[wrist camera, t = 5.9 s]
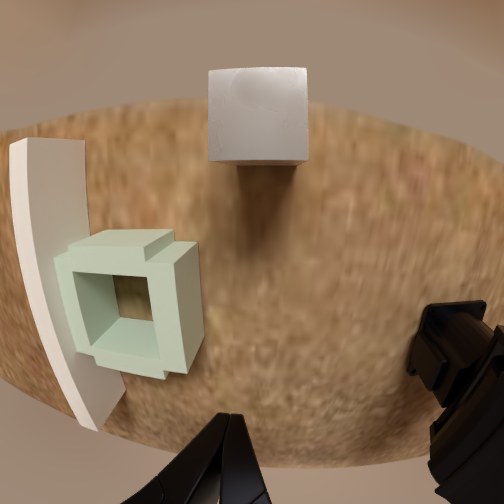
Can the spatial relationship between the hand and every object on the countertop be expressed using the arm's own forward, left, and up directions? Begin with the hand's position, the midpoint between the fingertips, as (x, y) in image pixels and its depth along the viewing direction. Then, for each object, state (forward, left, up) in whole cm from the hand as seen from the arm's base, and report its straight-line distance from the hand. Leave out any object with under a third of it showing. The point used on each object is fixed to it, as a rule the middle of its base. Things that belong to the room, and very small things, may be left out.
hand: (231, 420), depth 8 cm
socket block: (+8, 0, -11) cm, 14 cm away
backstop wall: (+13, 0, -11) cm, 17 cm away
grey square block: (-1, -10, -11) cm, 15 cm away
